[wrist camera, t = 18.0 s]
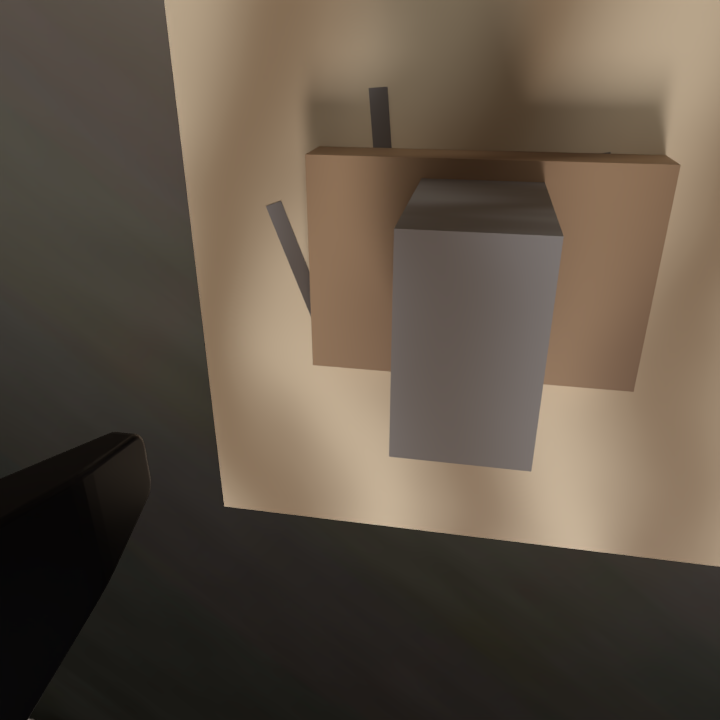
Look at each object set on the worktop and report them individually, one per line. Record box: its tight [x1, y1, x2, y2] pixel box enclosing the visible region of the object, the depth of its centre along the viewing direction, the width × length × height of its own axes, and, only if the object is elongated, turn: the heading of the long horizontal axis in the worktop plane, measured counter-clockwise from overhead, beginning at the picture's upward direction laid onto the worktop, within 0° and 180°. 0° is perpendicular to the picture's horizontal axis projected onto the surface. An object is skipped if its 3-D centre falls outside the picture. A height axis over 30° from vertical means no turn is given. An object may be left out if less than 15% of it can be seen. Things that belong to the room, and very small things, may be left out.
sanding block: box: [305, 146, 681, 472], centre depth 16 cm, size 9×6×6 cm, turn 90°
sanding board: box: [164, 0, 720, 566], centre depth 19 cm, size 18×20×2 cm
